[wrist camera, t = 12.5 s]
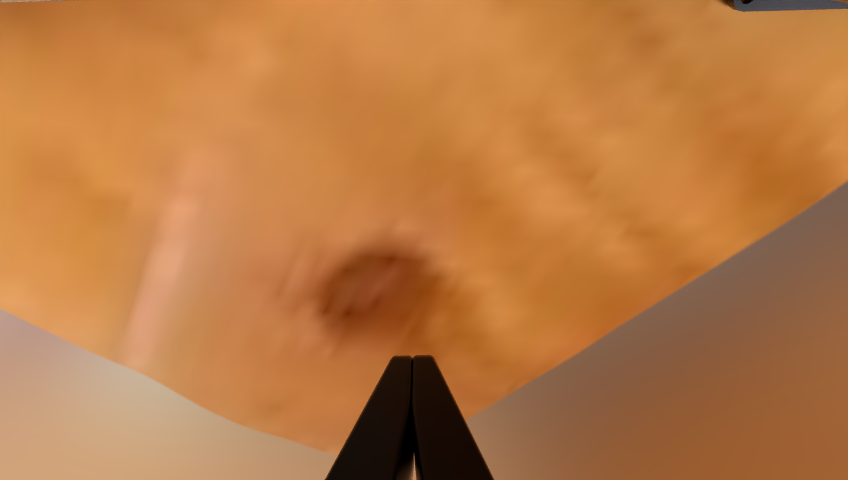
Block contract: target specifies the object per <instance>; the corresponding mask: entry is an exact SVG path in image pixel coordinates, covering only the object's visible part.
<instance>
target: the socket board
mask: <svg viewBox="0 0 848 480" xmlns="http://www.w3.org/2000/svg"><path fill="white" fill-rule="evenodd" d="M29 1H64V0H0V2H29Z"/></svg>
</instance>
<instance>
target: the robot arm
mask: <svg viewBox="0 0 848 480" xmlns="http://www.w3.org/2000/svg"><path fill="white" fill-rule="evenodd" d="M728 4H729V6H730V7H731V8H732V9H734V10H738V11H743V12H745V11H779V10H814V9H848V0H745V1H744V2H741V0H728ZM414 456H415V470H416V480H494V478H493V476H492V474H491V472H490V470H489V468H488V466H487V464H486V462H485V460H484V458H483V457H482V454H481V452H480V450H479V448H478V446H477V444H476V442H475V440H474V438H473V436H472V434H471V432H470V430H469V428H468V426H467V424H466V422H465V420H464V418H463V416H462V414H461V412H460V409H459V407H458V405H457V403H456V401H455V399H454V397H453V395H452V393H451V391H450V389H449V387H448V385H447V383H446V381H445V379H444V377H443V375H442V373H441V371H440V369H439V367H438V365H437V363H436V361H435V359H434V357H433V356H431V355H416V356H414V357H413V359H412V357H411V356H394V357H392V359H391V360H390V362H389V364H388V365H387V367H386V369H385V371H384V373H383V374H382V376H381V378H380V380H379V382H378V384H377V385H376V387H375V389H374V391H373V393H372V395H371V396H370V398H369V400H368V402H367V404H366V406H365V407H364V409H363V411H362V413H361V415H360V417H359V418H358V420H357V422H356V424H355V426H354V428H353V429H352V431H351V433H350V435H349V437H348V439H347V440H346V442H345V444H344V446H343V448H342V450H341V451H340V453H339V455H338V457H337V459H336V460H335V462H334V464H333V466H332V468H331V470H330V471H329V473H328V475H327V477H326V479H325V480H412V478H413V468H414Z"/></svg>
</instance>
